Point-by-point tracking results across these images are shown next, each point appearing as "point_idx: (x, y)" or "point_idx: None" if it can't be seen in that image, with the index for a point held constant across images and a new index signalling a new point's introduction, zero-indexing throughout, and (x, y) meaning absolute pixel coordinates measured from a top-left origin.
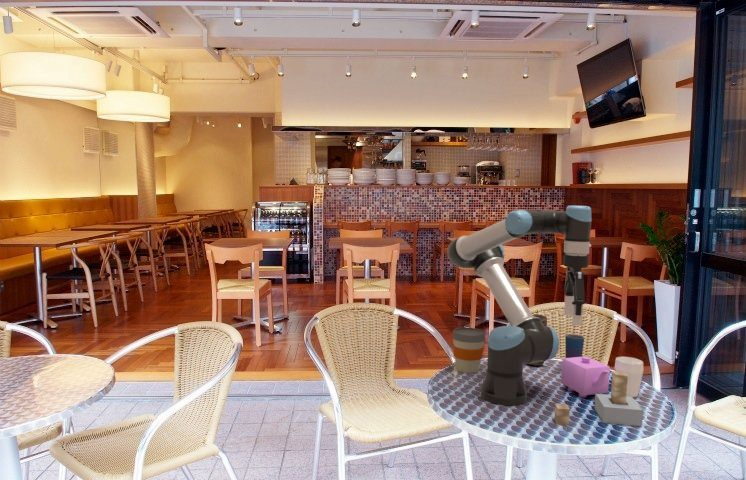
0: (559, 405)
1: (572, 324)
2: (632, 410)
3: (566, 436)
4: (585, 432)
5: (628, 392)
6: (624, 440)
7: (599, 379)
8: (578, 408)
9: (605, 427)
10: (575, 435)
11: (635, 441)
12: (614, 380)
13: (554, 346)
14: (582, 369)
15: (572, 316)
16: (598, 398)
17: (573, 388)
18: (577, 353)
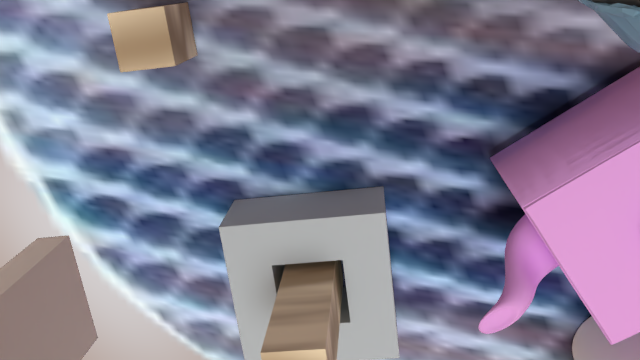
0: (150, 25)
1: (37, 241)
2: (239, 329)
3: (33, 44)
4: (108, 122)
5: (576, 353)
6: (102, 249)
7: (505, 259)
8: (363, 118)
9: (192, 202)
10: (60, 81)
11: (111, 282)
12: (280, 330)
13: (610, 17)
14: (543, 190)
15: (1, 292)
16: (323, 217)
17: (562, 116)
18: None
